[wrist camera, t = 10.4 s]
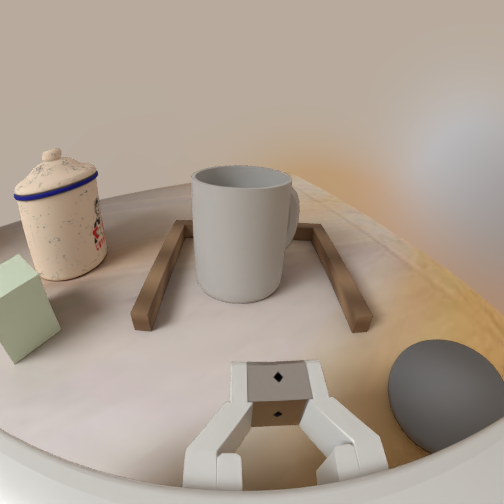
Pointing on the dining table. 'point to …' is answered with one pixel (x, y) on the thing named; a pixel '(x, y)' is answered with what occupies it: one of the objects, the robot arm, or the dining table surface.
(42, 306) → the sage box
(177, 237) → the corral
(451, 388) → the slate coaster
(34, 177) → the teacup with lid
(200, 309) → the dining table surface
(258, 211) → the cup
